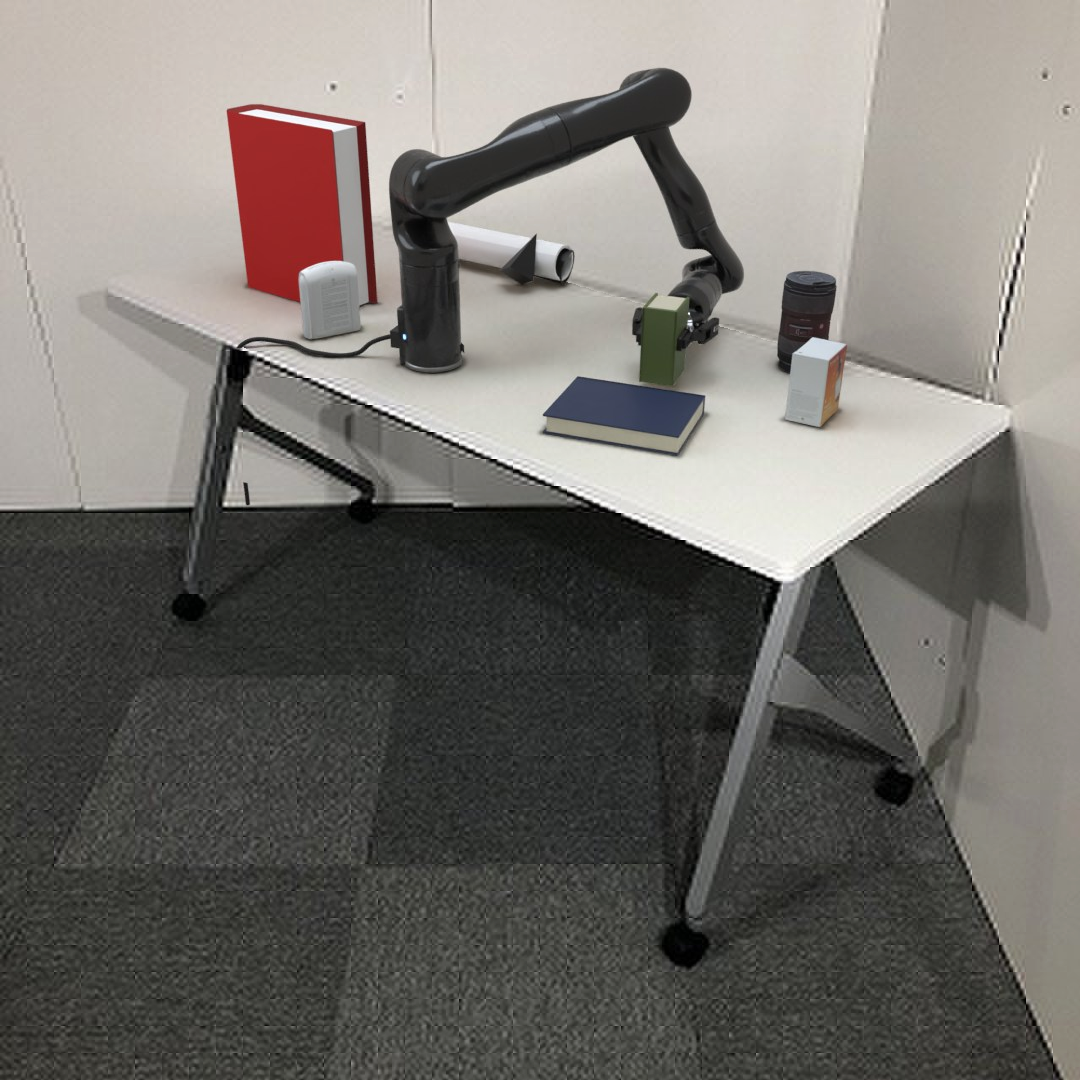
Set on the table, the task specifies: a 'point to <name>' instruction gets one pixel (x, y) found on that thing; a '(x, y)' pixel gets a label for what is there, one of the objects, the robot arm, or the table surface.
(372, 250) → the book
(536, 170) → the robot arm
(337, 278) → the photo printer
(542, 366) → the table surface
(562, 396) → the block
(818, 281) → the camera lens
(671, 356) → the dictionary
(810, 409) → the small box
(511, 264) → the diploma
